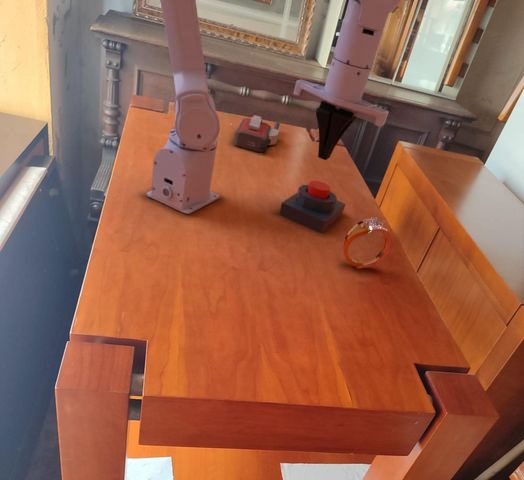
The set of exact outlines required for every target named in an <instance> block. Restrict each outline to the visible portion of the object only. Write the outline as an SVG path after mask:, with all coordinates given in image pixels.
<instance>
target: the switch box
mask: <svg viewBox="0 0 524 480" xmlns="http://www.w3.org/2000/svg"><path fill="white" fill-rule="evenodd" d="M308 187H309V184H302V185H300V186H299V187H298V188H297V189H298V190H297V192H295V194H293V195H290V197H288V198H286V199H285V200H284V201H282V202H281V204H280V209H279V212H278V215H279V216H281V217H284V218H286V219H288V220H290V221H292V222H294V223H297V224H300V225H302V226H304V227H306V228H309V229H311V230H313V231H316V232H318V233H320V234H323V232H324V231H326V230H327V229H328V228H329V227H330V226H331V225H333V223H335V222H336V221H337V220H338V219H339V218H340V217H341V216H343V213H344V210H345V207H346V203H345V202H343V201H340V200H338V197H337V195H336V194H335V193H334V192H332V190H330V192H329V195H328V198H327V199H319V198H315V197H313V196H311V195H309V194H308V193H307V191H308Z"/></svg>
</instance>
